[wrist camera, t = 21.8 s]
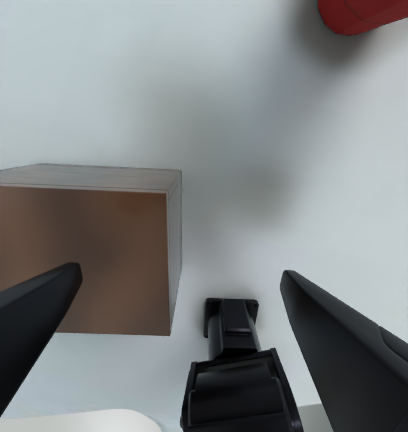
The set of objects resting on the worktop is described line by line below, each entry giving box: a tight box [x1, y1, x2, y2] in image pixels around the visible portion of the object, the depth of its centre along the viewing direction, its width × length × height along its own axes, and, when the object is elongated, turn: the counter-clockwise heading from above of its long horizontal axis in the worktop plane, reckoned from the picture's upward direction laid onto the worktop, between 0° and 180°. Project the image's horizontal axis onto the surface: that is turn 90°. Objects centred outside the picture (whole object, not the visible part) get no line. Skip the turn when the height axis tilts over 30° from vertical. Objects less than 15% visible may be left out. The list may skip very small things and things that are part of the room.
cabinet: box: [0, 164, 182, 336], centre depth 17 cm, size 13×11×8 cm
